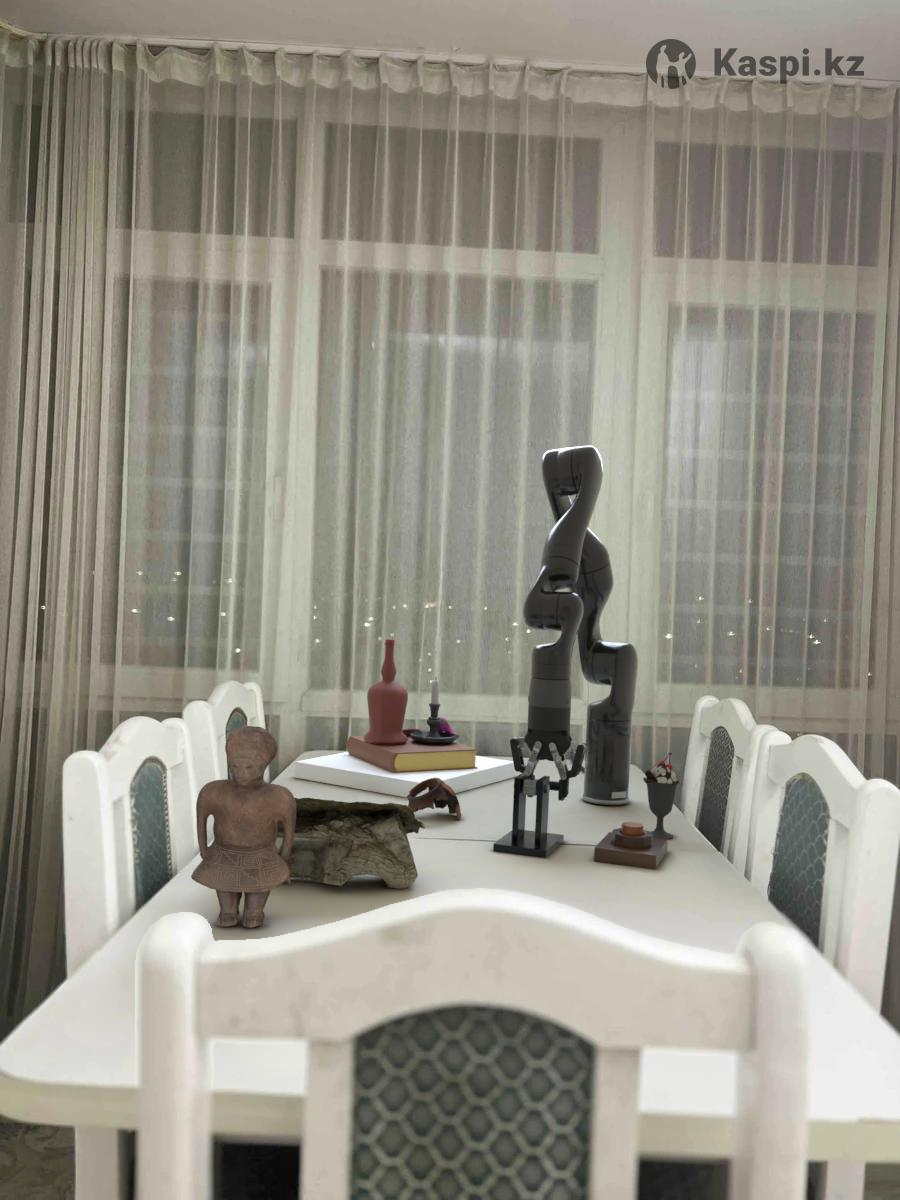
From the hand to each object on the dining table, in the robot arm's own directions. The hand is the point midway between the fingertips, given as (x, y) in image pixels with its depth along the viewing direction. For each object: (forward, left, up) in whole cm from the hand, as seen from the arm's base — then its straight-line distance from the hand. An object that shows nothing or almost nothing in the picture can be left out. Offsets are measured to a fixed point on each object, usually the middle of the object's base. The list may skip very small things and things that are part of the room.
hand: (545, 797), depth 187 cm
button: (+8, +17, -3) cm, 19 cm away
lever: (+5, 0, +2) cm, 6 cm away
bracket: (+10, 0, -7) cm, 12 cm away
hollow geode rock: (+44, -21, -7) cm, 49 cm away
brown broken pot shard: (-3, -22, -7) cm, 23 cm away
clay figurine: (+66, -22, -7) cm, 70 cm away
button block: (+8, +17, -7) cm, 20 cm away
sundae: (-9, +19, -7) cm, 22 cm away
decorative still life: (-38, -41, -7) cm, 56 cm away
